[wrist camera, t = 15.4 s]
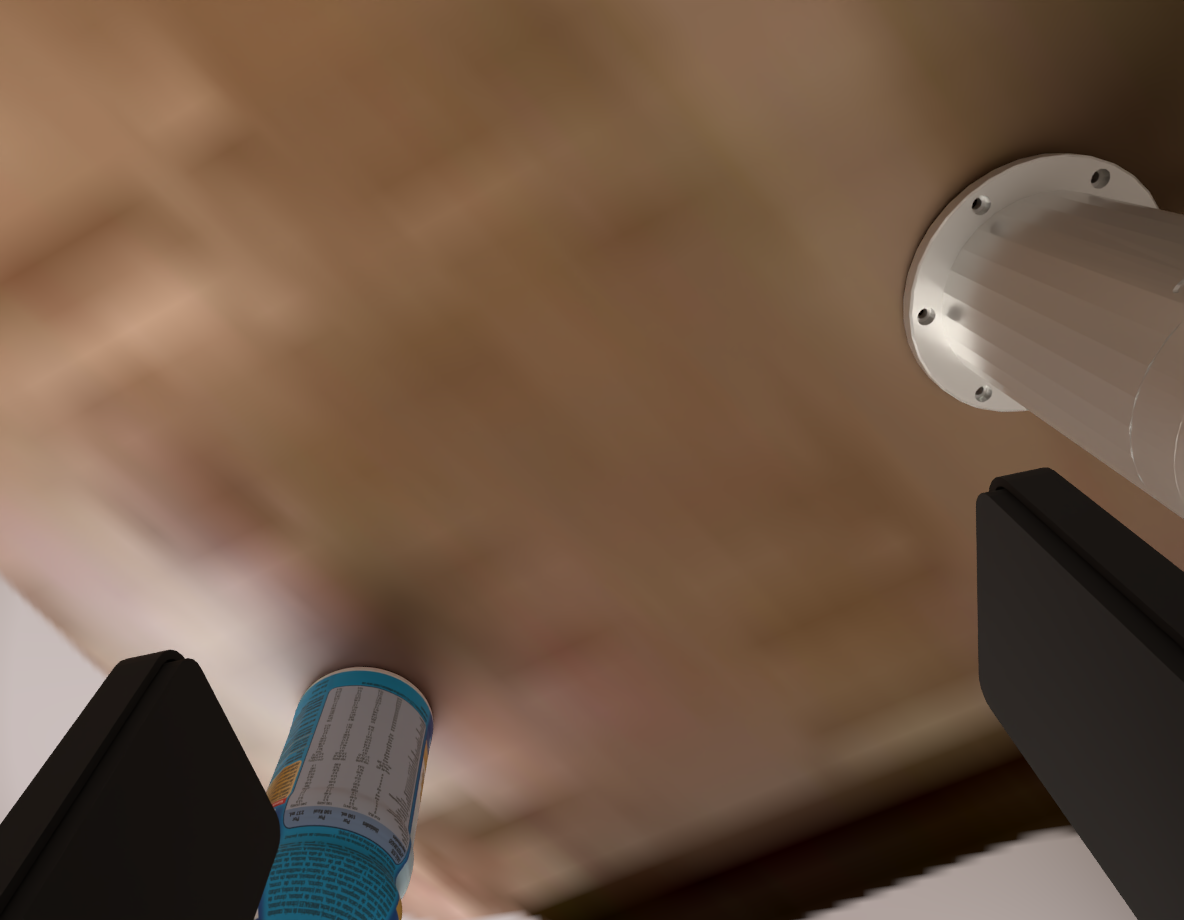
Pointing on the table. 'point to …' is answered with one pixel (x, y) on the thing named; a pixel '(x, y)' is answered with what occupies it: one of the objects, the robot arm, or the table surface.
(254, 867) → the robot arm
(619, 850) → the table surface
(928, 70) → the table surface
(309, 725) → the beverage bottle
